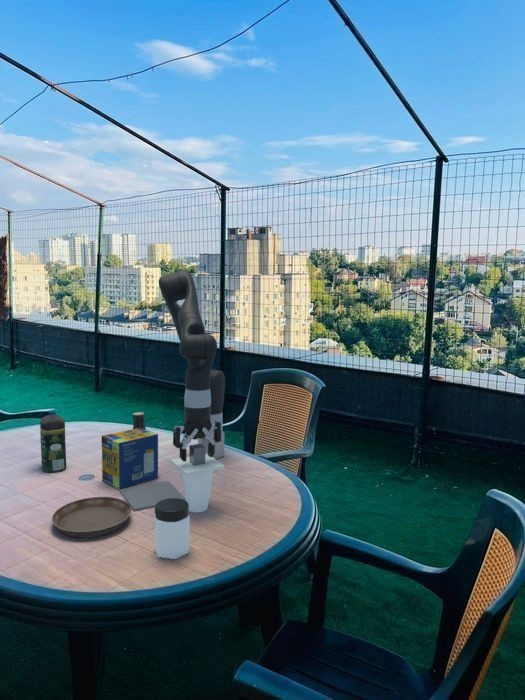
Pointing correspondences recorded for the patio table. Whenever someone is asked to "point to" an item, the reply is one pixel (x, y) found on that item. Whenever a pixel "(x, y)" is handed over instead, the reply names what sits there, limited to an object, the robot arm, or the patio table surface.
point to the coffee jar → (53, 443)
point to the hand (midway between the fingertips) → (197, 458)
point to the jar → (172, 528)
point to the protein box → (129, 457)
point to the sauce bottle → (138, 420)
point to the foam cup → (197, 490)
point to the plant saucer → (91, 516)
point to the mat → (149, 494)
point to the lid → (197, 461)
